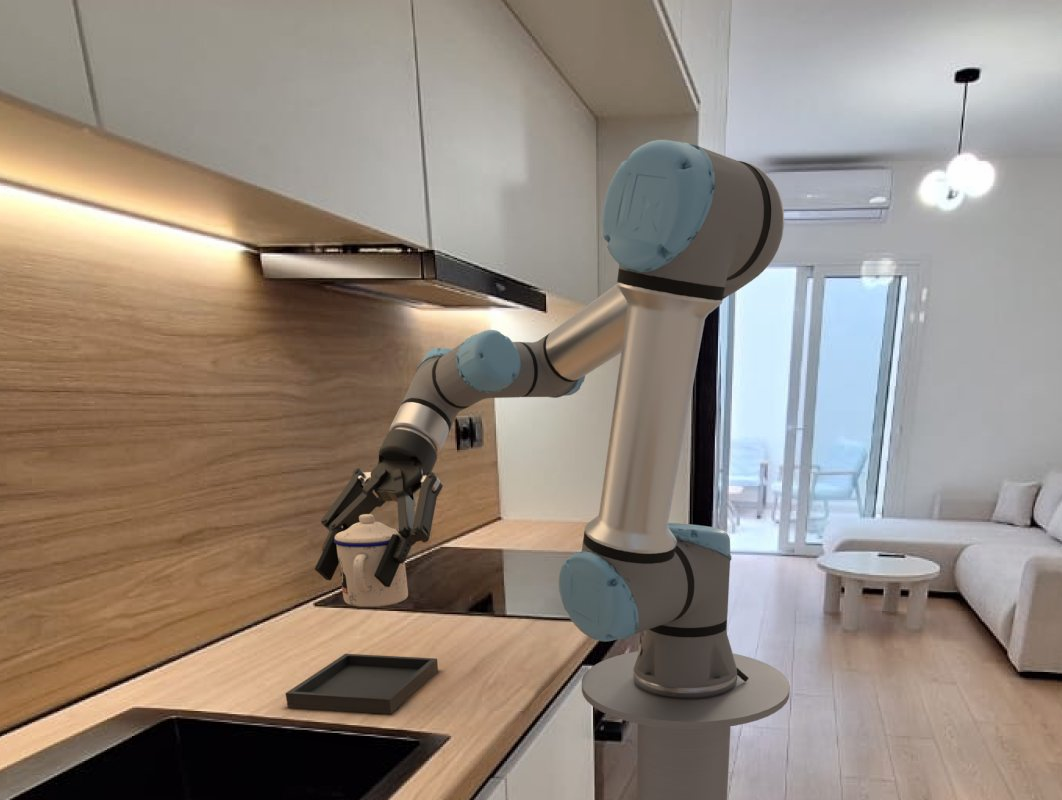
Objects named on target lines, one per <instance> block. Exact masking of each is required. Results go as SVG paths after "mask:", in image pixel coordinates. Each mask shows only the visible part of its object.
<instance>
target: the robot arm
mask: <svg viewBox="0 0 1062 800" xmlns="http://www.w3.org/2000/svg"><path fill="white" fill-rule="evenodd" d="M601 227H602V228H601V230H602V235H603V239H604V240H605V241H606V242H607V245H606V248H607V250H608V253H609V255H611V257H612V258H613V260H614V261H615V262H616V263H617V264H618V271H617V279H616V284H615V285H614V286H612V287H610V288H609V289H608V290H606V291H605V292H604V293H602V294H601V295H600V296H598V297H597V298H596V299H594V300H593V301H591V302H590V303H589V304H588V305H586V306H585V307H583V308H581V310H579V311H578V312H576V313H575V314H574V315H572V316H571V317H570V318H568V319H566V321H564V322H563V323H562V324H560V325H559V326H557V327H556V328H554V329H553V330H552V331H550V332H549V333H548V334H546V335H545V336H543V337H542V338H540V339H539V340H537V341H533V342H531V341H529V342H528V341H513V340H512V339H511V338H510V337H509V336H507V335H504V334H503V333H501V331H499V330H496V329H487V330H482V331H481V332H479V333H476V334H473V335H471V336H470V337H467V338H466V339H465V340H463V341H462V342H461V343H460V344H458V345H457V346H455V347H454V348H453V349H451V348H449V347H442V348H439V347H434V348H431V349H430V350H429V351H428V352H427V353H426V354H425V356H424V357H423V359H422V361H420V363H419V364H418V366H417V369H416V370H415V374H414V377H413V379H412V380H411V383H410V384H409V387H408V389H407V392H406V393H405V396H404V398H403V399H402V402H401V405H400V406H399V409H398V410H397V412H396V414H395V417H394V419H392V422H391V423H390V424H391V425H390V427H389V429H388V430H389V431H388V432H387V433H386V435H385V437H384V439H383V442H382V443H381V446H380V448H379V450H378V462H377V464H376V466H375V467H374V468H372V469H371V471H363V470H362V469H361V468H359V467H357V468H355V469H353V472H352V474H351V476H350V480H349V481H348V483H347V484H346V485H345V486H344V488H343V489H342V491H341V492H340V494H339V495H338V496H337V498H336V499H335V501H334V502H333V504H332V505H331V506H330V508H329V509H328V510H327V512H325V514H324V515H323V517H322V518H321V520H320V524H322V526H323V527H324V528H325V529H326V530H327V531H328V534H327V536H326V538H325V540H324V541H323V544H322V546H321V551H322V553H321V554H320V557H319V558H318V561H317V563H316V565H315V567H314V570H315V571H316V572H317V573H318V574H319V575H320V576H321V577H322V578H323V579H325V581H332V579H333V577H334V574H335V572H336V570H337V568H338V567H339V561H338V554H337V546H336V544H335V543H334V539H335V535H336V534H337V533H339V532H342V531H345V530H347V529H348V528H349V527H351V526H352V525H353V524H356V523H359V522H360V521H359V516H360V515H363V514H371V513H372V512H373V511H374V510H375V509H376V508H381V507H382V506H383V505H384V504H385V503H386V502H396V503H397V515H398V516H397V518H398V530H399V531H398V530H397V528H395V529H396V530H397V532H398V533H399V534H400V535H401V536H400V537H399V536H398V535H397V534H392V537H391V539H390V541H389V543H388V546H387V548H386V550H385V552H384V554H383V557H382V559H381V561H380V563H379V566H378V568H377V570H376V572H375V574H374V576H375V577H376V578H377V579H378V580H379V581H380V582H381V583H382V584H383V585H384V586H385V587H390V585H391V583H392V581H393V578H394V576H395V574H396V572H397V569H398V567H399V565H400V563H401V564H403V563H404V562H405V563H406V560H407V557H408V556H409V553H410V551H411V548H412V547H413V546H414V545H415V544H416V543H417V542H421V543H427V542H428V541H429V540H430V536H431V530H432V527H433V521H434V515H435V509H436V505H437V501H438V500H437V499H438V497H439V495H440V493H441V491H442V489H443V488H444V485H443V482H441V481H440V479H439V478H438V476H437V475H436V473H434V472H433V470H434V467H435V465H436V463H437V460H438V456H439V455H440V453H441V451H442V449H443V447H444V444H445V442H446V440H447V438H448V435H449V433H450V431H451V428H452V427H453V424H454V422H455V420H456V418H457V416H458V414H459V413H460V412H461V411H463V410H465V409H467V408H469V407H472V406H473V405H475V404H477V403H479V402H481V401H483V400H486V399H504V398H505V399H509V398H511V399H512V398H513V399H514V398H552V399H557V398H561V397H566V396H572V395H574V394H576V393H578V391H580V389H581V387H582V384H583V383H584V382H585V379H586V376H587V375H588V374H591V373H592V372H594V370H596V369H598V368H600V367H601V366H602V365H604V364H606V363H608V362H609V361H611V360H612V359H614V358H615V357H617V356H618V355H620V361H619V366H618V375H617V381H616V388H615V396H614V404H613V411H612V417H611V425H610V433H609V439H608V447H607V453H606V461H605V468H604V474H603V475H604V476H603V482H602V490H601V497H600V504H599V512H598V515H597V516H595V517H594V518H593V519H591V520H590V521H588V522H587V523H585V526H584V531H583V538H582V547H581V551H576V552H574V553H572V555H570V556H569V558H568V559H566V560H565V561H564V562H563V564H562V565H561V567H560V571H559V577H558V590H559V591H558V592H559V596H560V600H561V603H562V605H563V608H564V610H565V611H566V613H567V614H568V616H569V620H570V621H571V622H572V623H573V626H575V627H576V628H577V629H578V630H579V631H580V632H581V633H582V634H584V635H585V636H587V637H588V638H591V639H593V640H595V641H599V642H612V641H616V640H625V639H629V638H631V637H633V636H634V635H636V634H639V633H643V632H645V633H644V635H643V639H642V642H640V643H639V646H638V649H637V651H638V652H639V654H638V657H637V660H636V663H635V666H634V683H635V685H636V686H637V687H638V688H639V689H641V690H643V691H645V692H647V693H649V694H652V695H656V696H660V697H665V698H671V699H686V700H691V699H705V698H712V697H716V696H720V695H723V694H726V693H728V692H730V691H731V690H733V689H734V688H735V687H736V685H737V675H738V676H739V677H740V678H741V679H742V680H744V681H745V682H746V681H747V680H748V678H749V677H747V676H746V675H745V674H744V673H743V672H741V671H740V670H739V669H738V668H737V667H736V664H735V660H734V657H733V650H732V647H731V646H732V645H731V643H730V640H729V635H728V615H729V613H728V612H729V593H730V592H729V590H730V571H731V561H732V555H731V537H730V535H729V534H728V532H727V531H725V530H723V529H721V528H718V527H714V526H713V527H712V526H707V525H700V524H689V523H678V522H669V520H670V514H671V509H672V503H673V497H674V493H675V487H676V482H677V476H678V470H679V465H680V459H681V454H682V448H683V443H684V437H685V431H686V427H687V420H688V414H689V410H690V405H691V399H692V393H693V387H694V382H695V376H696V371H697V367H698V366H697V365H698V359H699V356H700V355H699V353H700V350H701V349H700V348H701V343H702V337H703V332H704V328H705V322H706V321H705V320H706V319H707V317H708V316H709V314H711V313H712V312H714V310H716V309H717V308H718V307H720V306H721V305H722V304H723V300H724V299H726V298H727V297H729V296H731V295H732V294H735V293H736V292H738V291H739V290H741V289H742V288H743V287H746V286H747V285H748V284H750V283H751V282H752V281H753V280H755V279H756V278H758V277H759V276H760V275H761V274H762V273H763V272H764V271H765V270H766V269H767V268H768V267H769V266H770V264H771V263H772V261H773V260H774V258H775V256H776V255H777V252H778V250H779V248H780V245H781V242H782V240H783V236H784V235H783V234H784V228H785V211H784V204H783V200H782V197H781V195H780V192H779V191H778V189H777V187H776V186H775V183H774V182H773V180H771V178H770V177H769V175H767V174H766V172H764V171H763V170H761V169H760V168H759V167H757V166H755V165H753V164H751V163H748V162H745V161H742V160H736V159H734V158H731V157H728V156H725V155H723V154H721V153H717V152H715V151H713V150H711V149H707V148H704V147H702V146H699V145H697V144H693V143H688V142H686V141H684V142H681V141H677V140H676V141H675V140H669V139H656V140H652V141H648V142H646V143H643V144H642V145H640V146H639V147H637V148H635V149H634V150H633V151H632V152H631V153H630V154H629V157H627V159H626V160H624V161H622V162H621V163H620V165H619V166H618V168H617V170H616V171H615V173H614V174H613V176H612V178H611V180H610V182H609V184H608V187H607V190H606V193H605V196H604V201H603V206H602V214H601ZM418 491H419V492H418ZM417 492H418V499H417V504H416V493H417ZM375 494H376V495H377V496H376V495H375ZM415 507H416V508H415Z"/></svg>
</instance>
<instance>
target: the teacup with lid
mask: <svg viewBox="0 0 1062 800" xmlns="http://www.w3.org/2000/svg"><path fill="white" fill-rule="evenodd" d="M359 521H360V522H359V523H356V524H353V525H352V526H351V527H349V528H348V529H347V530H345V531H342V532H339V533H337V534H336V535H335V539H334V543H335V544H336V546H337V554H338V561H339V564H338V567H339V568H338V569H339V575H340V576H339V577H340V583H341V589H342V590H341V591H342V598H343V601H344V603H346V604H347V605H349V606H354V607H361V608H373V607H375V608H376V607H385V606H390V605H395V604H398V603H401V602H403V601H405V600H407V598H408V596H409V589H408V581H407V580H408V579H407V570H406V569H407V568H406V561H405V562H404V563H403V564H401V563H400V565H399V567H398V569H397V572H396V574H395V576H394V578H393V581H392V583H391V585H390V587H385V586H384V585H383V584H382V583H381V582H380V581H379V580H378V579H377V578H376V577H375V576H374V574H375V572H376V570H377V568H378V566H379V563H380V561H381V559H382V557H383V554H384V552H385V550H386V548H387V546H388V543H389V541H390V539H391V537H392V534H397V535H398V536H399V537H400V536H401V535H400V534H399V533H398V532H397V530H398V531H399V528H398V529H397V528H393V527H390V526H388V525H386V524H384V523H383V522H380V521H376V519H375V515H373V514H371V513H370V514H363V515H360V516H359ZM396 529H397V530H396Z"/></svg>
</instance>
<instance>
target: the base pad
mask: <svg viewBox="0 0 1062 800" xmlns="http://www.w3.org/2000/svg"><path fill="white" fill-rule="evenodd" d="M438 672H439V665H438V658H435V657H418V656H417V657H415V656H396V655H381V654H379V655H376V654H359V653H358V654H357V653H344V654H342V655H340V656H339V657H338V658H336V659H334V660H333V661H332V662H330V663H329V664H327V665H326V666H325V667H323V668H321V669H320V670H318V671H317V672H315V673H314V674H312V675H310V676H309V677H308V678H306V679H305V680H303V681H301V682H300V683H298V684H297V685H296V686H294V687H293V688H291V689H290V690H288V691H286V692H285V699H286V706H287V708H288V709H302V710H318V711H319V710H320V711H335V712H350V713H365V714H366V713H367V714H381V715H382V714H383V715H392V714H394V712H395V711H397V709H398V708H400V707H401V706H402V705H403V704H404V703H406V702H407V701H408V700H409V699H410V698H411V697H412V696H413V695H414V694H415V693H417V692H418V690H420V689H421V688H422V687H423V686H424V685H426V683H427V682H429V681H430V680H431V679H432V678H433V677H434V676H435V675H436V674H437V673H438Z"/></svg>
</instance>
